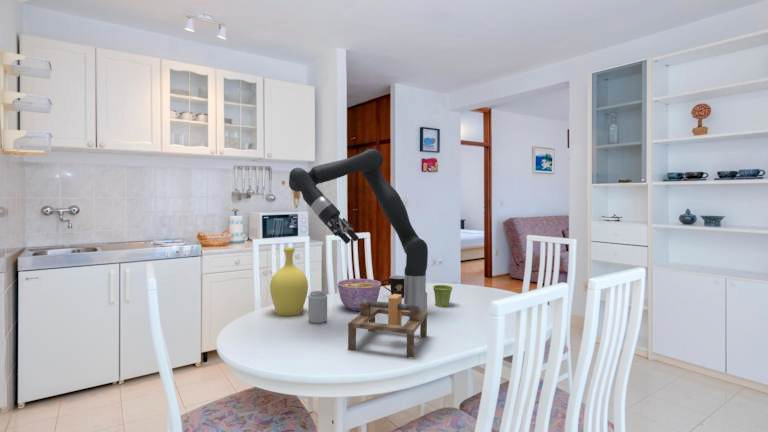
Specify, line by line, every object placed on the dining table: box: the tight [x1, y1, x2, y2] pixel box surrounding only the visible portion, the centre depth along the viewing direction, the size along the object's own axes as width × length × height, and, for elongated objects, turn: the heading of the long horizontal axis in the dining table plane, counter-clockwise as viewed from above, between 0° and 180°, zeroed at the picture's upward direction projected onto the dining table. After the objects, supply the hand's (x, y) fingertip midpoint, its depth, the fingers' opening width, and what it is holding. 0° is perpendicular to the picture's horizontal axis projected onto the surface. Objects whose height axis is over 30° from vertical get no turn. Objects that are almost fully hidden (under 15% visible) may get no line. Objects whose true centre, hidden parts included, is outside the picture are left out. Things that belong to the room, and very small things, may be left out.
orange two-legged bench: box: [387, 294, 403, 326], centre depth 146 cm, size 3×6×11 cm, turn 163°
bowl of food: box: [336, 278, 382, 312], centre depth 191 cm, size 20×20×12 cm
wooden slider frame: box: [347, 300, 428, 358], centre depth 147 cm, size 22×22×14 cm
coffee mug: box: [381, 275, 404, 299], centre depth 214 cm, size 12×9×10 cm
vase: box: [269, 247, 309, 317], centre depth 182 cm, size 16×16×28 cm
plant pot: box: [432, 284, 454, 308], centre depth 198 cm, size 9×9×9 cm
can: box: [307, 290, 328, 325], centre depth 170 cm, size 8×8×12 cm
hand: (353, 241), depth 159 cm, fingers open, 8 cm apart
